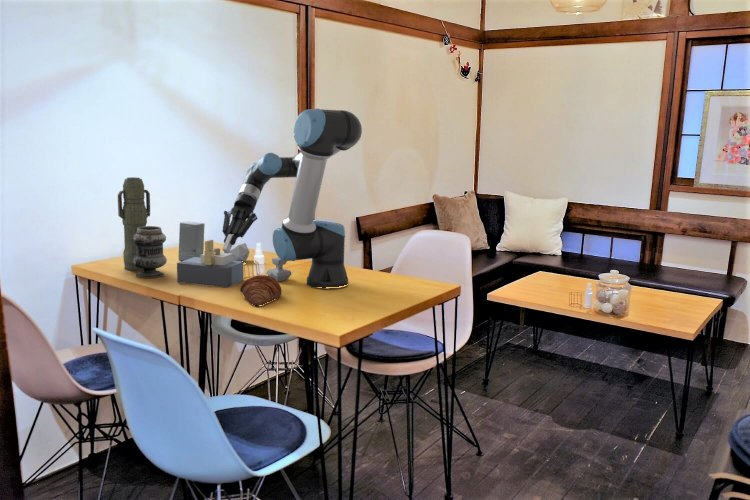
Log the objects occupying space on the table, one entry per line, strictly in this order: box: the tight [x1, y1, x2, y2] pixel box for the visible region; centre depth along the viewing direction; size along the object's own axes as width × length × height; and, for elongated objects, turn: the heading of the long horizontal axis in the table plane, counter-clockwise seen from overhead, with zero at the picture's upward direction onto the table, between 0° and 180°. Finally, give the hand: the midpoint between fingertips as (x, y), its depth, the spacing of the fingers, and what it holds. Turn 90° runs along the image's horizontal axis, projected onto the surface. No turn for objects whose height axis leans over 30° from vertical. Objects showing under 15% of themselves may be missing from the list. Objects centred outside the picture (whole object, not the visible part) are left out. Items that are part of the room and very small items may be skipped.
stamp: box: [266, 256, 292, 282], centre depth 245 cm, size 9×7×8 cm
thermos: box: [117, 176, 151, 272], centre depth 254 cm, size 9×12×35 cm
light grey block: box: [201, 247, 233, 265], centre depth 240 cm, size 9×7×5 cm
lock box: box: [176, 257, 244, 289], centre depth 240 cm, size 20×12×7 cm, turn 74°
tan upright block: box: [204, 239, 216, 265], centre depth 235 cm, size 2×5×8 cm, turn 164°
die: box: [229, 242, 250, 262], centre depth 275 cm, size 8×9×10 cm
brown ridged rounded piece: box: [239, 274, 282, 307], centre depth 219 cm, size 17×15×8 cm
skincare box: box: [178, 220, 205, 262], centre depth 274 cm, size 8×7×16 cm
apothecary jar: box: [132, 225, 168, 279], centre depth 245 cm, size 12×12×18 cm
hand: (225, 251), depth 233 cm, fingers closed
